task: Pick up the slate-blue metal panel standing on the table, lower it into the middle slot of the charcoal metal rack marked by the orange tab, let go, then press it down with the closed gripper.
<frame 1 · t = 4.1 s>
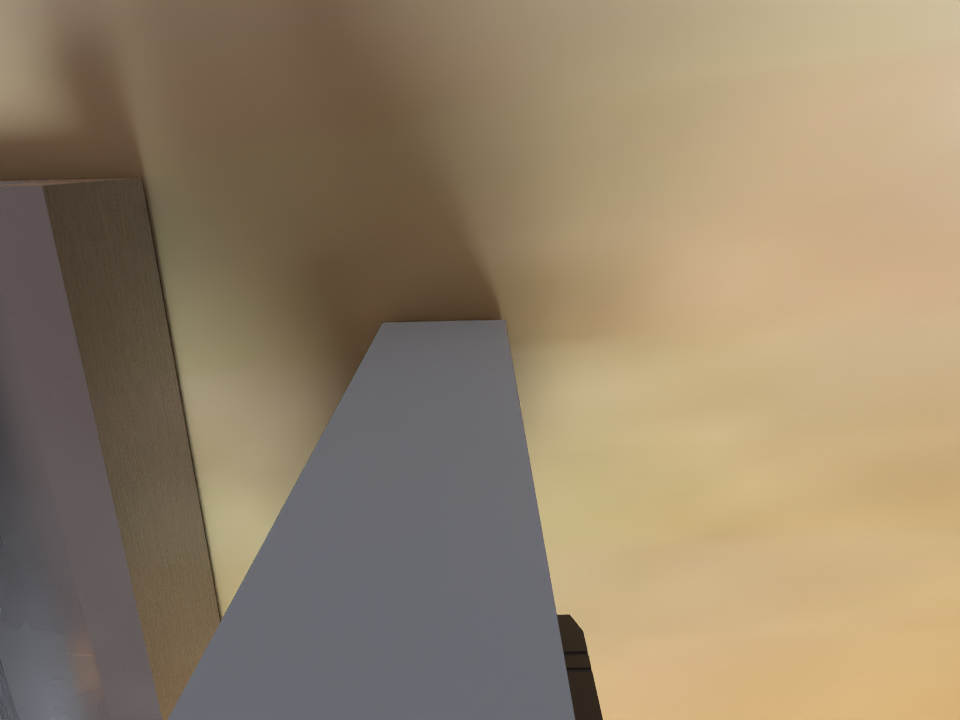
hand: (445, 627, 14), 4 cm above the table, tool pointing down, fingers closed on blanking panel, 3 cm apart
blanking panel: (452, 532, 17), on the table, touching gripper
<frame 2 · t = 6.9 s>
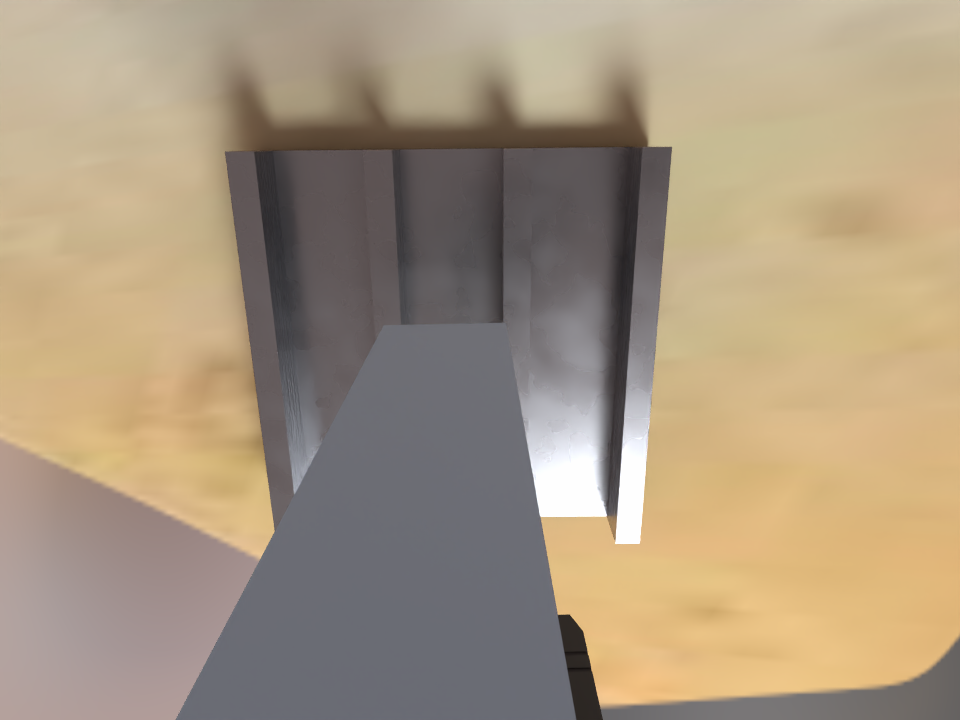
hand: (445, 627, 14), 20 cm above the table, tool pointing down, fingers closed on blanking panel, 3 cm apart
rack: (456, 344, 33), on the table
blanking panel: (453, 535, 17), point 16 cm above the table, touching gripper
when the fingers open (6 cm above the table, at t = 9.8 s): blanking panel stays where it is, resting on rack.
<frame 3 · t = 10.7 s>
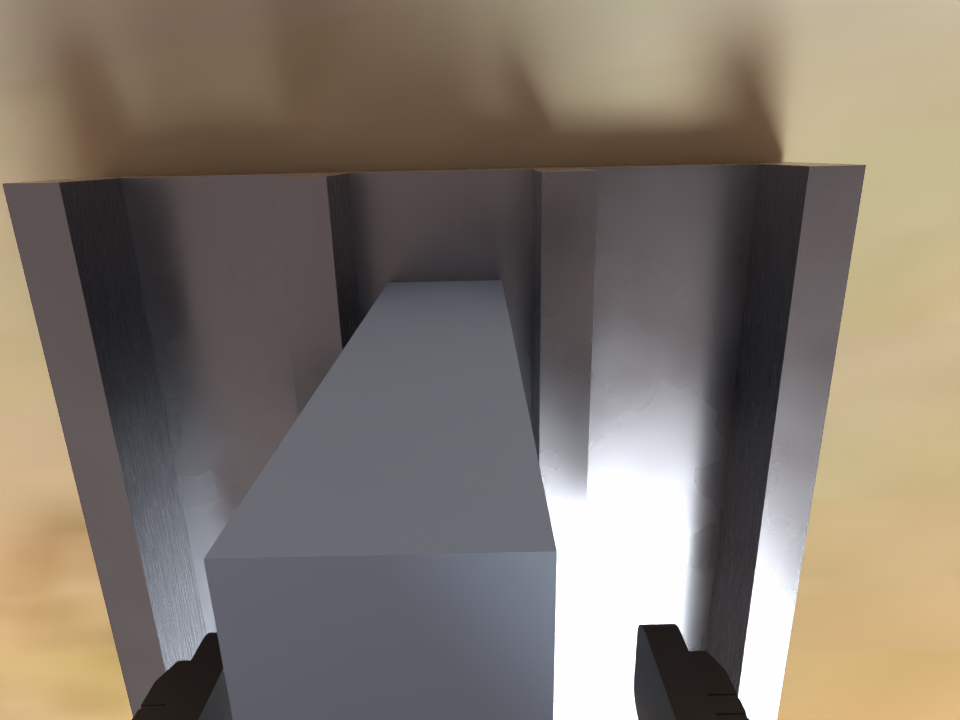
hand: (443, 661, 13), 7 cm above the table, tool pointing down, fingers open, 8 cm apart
rack: (454, 487, 20), on the table
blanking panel: (452, 483, 19), point 1 cm above the table, touching rack
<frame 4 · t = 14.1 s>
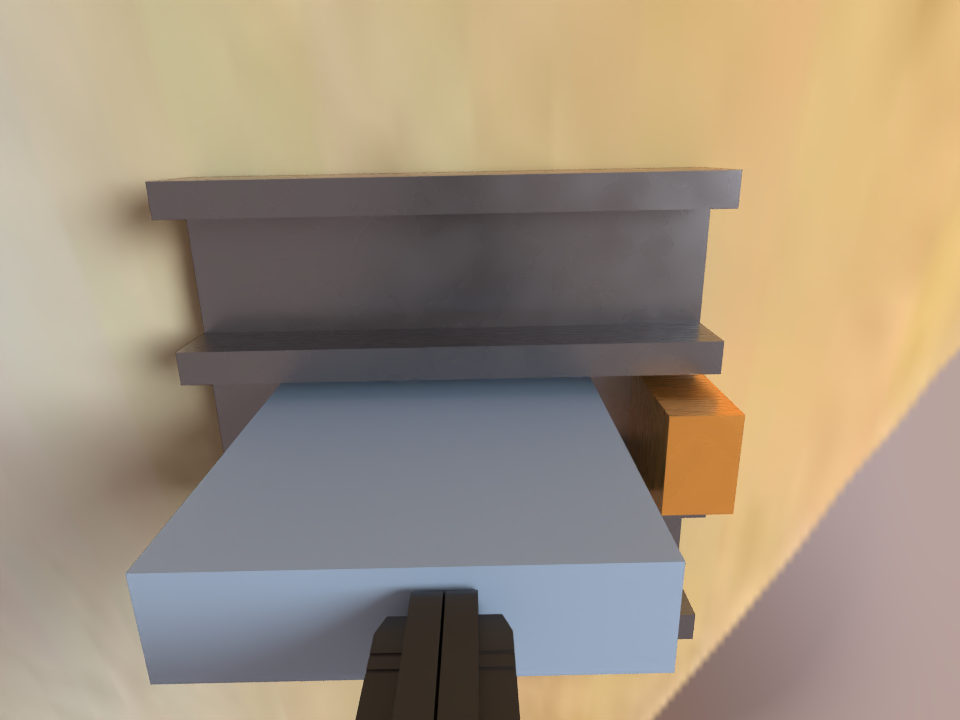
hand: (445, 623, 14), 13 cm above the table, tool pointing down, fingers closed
rack: (455, 402, 26), on the table
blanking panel: (437, 412, 26), point 1 cm above the table, touching gripper, rack
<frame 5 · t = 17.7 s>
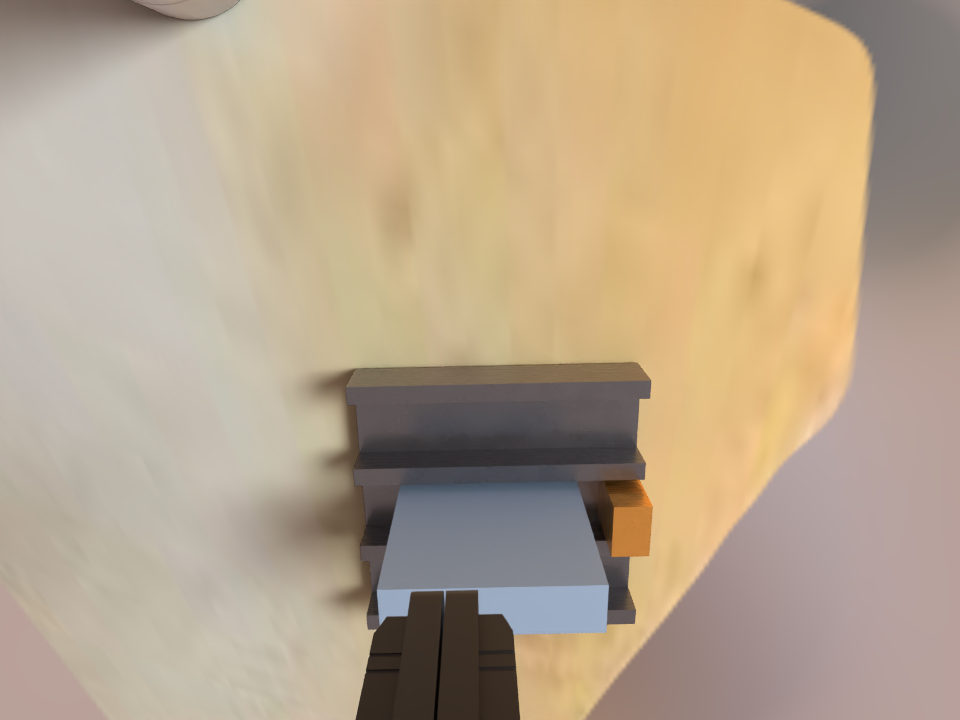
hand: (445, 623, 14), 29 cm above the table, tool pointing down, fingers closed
rack: (498, 487, 46), on the table
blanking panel: (488, 494, 45), point 1 cm above the table, touching rack
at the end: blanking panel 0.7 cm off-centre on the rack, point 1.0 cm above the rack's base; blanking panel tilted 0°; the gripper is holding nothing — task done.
